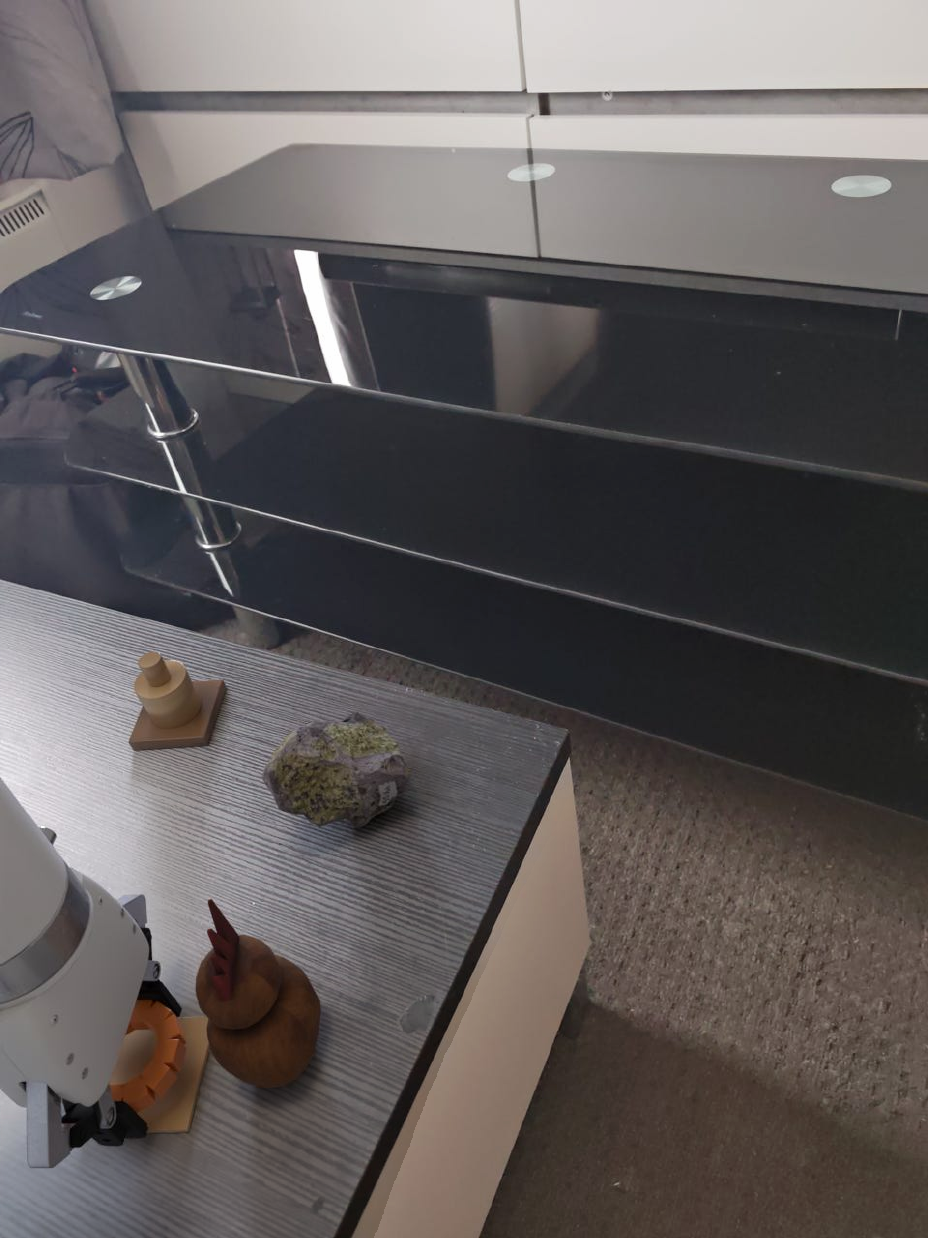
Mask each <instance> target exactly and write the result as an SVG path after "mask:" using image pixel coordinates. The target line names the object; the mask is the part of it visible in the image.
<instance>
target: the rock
mask: <svg viewBox="0 0 928 1238" xmlns="http://www.w3.org/2000/svg"><path fill="white" fill-rule="evenodd" d="M260 778H261V779H262V782H263V783H264V785H265V787H266V788H267V789H268V790H269V792H270V793H271V795H272V797H273V799H274V801H275V804H276V806H277V808H278V809H279V810H280V811H282V812H284V813H288V814H292V815H295V816H300V815H301V816H304V817H305V818H306V819H307V820H308V821H309V823H310V824H312V825H314V826H317V827H319V828H320V827H324V826H326V825H330V824H332V823H333V824H334V823H337V822H340V821H344V820H345V819H346V820H347V821H348V823H349V824H350V825H351V826H353V827H354V828H358V829H360V828H362V827H364V826H367V825H368V823H370V821H371V820H372V819H373V818H375V817H376V816H377V815H380V814H382V813H385V812H386V811H388V810H389V809H390V808H392V807H393V805H394V803H395V801H396V799H397V797H400V796H402V795H403V794H404V793H405V792H406V789H407V786H408V784H407V783H408V782H409V780H410V774H409V769H408V767H407V764H406V762H405V759H404V755H403V754H402V752H401V751H400V749H399V741H398V740H397V739H396V738H394V736H392V735H391V734H390V733H389V732H388V729H386V728H385V726H383V725H380V724H378V723H377V722H376V721H375V719H374V718H370V717H369V718H368V717H366V716H365V715H361V713H359V712H358V711H356V712H352V713H351V714H348V715H347V716H346V717H345V718H344V719H342V720H340V721H339V720H338V721H337V720H324V722H321V721H317V720H313V721H312V722H309V723H305V724H304V725H300V726H298V727H296V728H295V729H293V731H292V732H291V733H287V735H286V736H285V738H284V739H283V740H282V742H281V743H280V744H279V746H276V748H275V750H274V751H273V753H272V756H271V757H270V758H269V759H268V761H267V764H266V765H265V766H264V767H263V771H262V774H261V775H260Z"/></svg>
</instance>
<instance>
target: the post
mask: <svg viewBox="0 0 928 1238" xmlns="http://www.w3.org/2000/svg"><path fill="white" fill-rule="evenodd" d="M137 665H138V667H139V669H140V671H141V672H140V673H139V674H138V675H137V677H136V679H135V680H134V684H133V690H134V693H135V694H136V697H137V698H138V700H139V701H140V703H141V705H142V707H141V710H140V712H139V714H138V716H137V719H136V722H135V724H134V727H133V729H132V731H131V734H130V737H129V739H128V742H127V743H128V744H129V746H130V748H131V749H132V750H133V751H145V750H161V749H175V748H189V747H205V746H209V745H210V740H211V737H212V735H213V732H214V729H215V725H216V722H217V718H218V716H219V713H220V711H221V710H220V709H221V706H222V703H223V700H224V697H225V694H226V691H227V688H228V687H227V684H226V683H225V680H224V678H216V679H215V678H214V679H202V680H192V678H191V676H190V674H189V672H188V670H187V668H186V666H185V665H184V664H183V663H182V662H180V661H178V660H174V659H165V660H164V658H163V655H162V654H161V652H159V651H156V650H155V651H154V650H153V651H148V652H146V653H144V654H142V655H141V656H140V658H138V660H137Z"/></svg>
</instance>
